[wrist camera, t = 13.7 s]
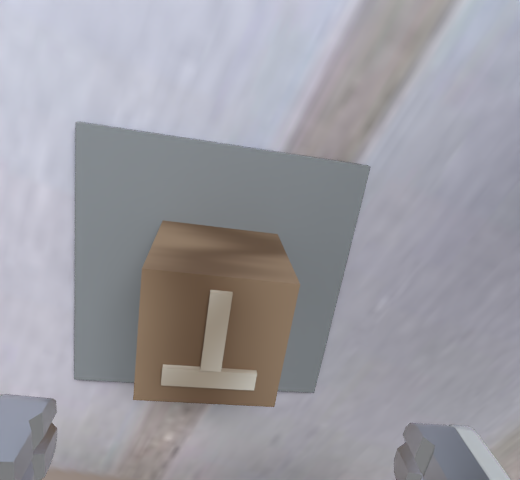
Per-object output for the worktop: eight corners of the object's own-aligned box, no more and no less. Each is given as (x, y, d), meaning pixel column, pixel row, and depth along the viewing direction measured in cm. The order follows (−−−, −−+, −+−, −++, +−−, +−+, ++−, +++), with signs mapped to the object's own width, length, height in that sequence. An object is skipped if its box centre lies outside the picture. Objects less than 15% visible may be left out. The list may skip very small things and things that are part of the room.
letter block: (277, 233, 17) (301, 286, 12) (259, 334, 19) (274, 415, 14) (162, 220, 17) (140, 271, 12) (154, 326, 18) (131, 408, 13)
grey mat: (367, 165, 17) (370, 166, 17) (312, 387, 21) (314, 392, 21) (78, 121, 15) (75, 122, 15) (76, 373, 19) (74, 379, 19)
